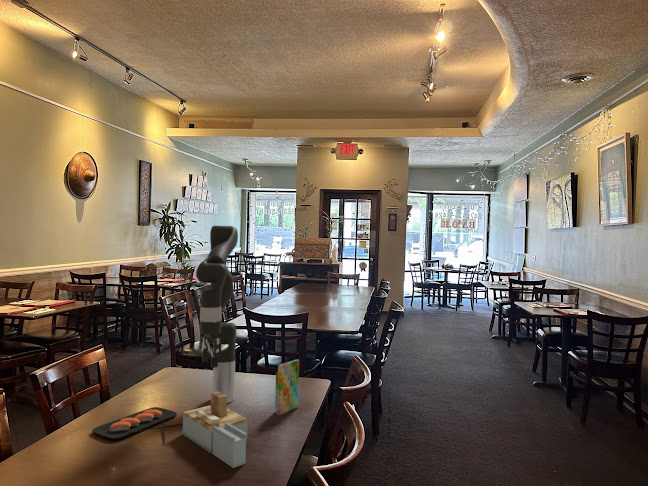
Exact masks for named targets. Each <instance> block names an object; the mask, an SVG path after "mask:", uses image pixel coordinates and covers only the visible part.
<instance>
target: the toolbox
mask: <svg viewBox="0 0 648 486" xmlns="http://www.w3.org/2000/svg"><path fill="white" fill-rule="evenodd" d="M182 423H183V425H182V435H183V436H184V437H186V438H188V439H189V440H190V441H192V442H193V443H195V444H196V445H197V446H199V447H201V448H202V449H204V450H205V451H206V452H208V453H209V454H212V455H214V456H215V457H217V458H218V459H219V460H220V461H222V462H224V463H225V464H227V465H228V466H230V467H231V468H232V469H234V468H238V467H240V466H243V465H246V459H247V458H246V454H247V453H246V452H247V451H246V449H247V443H248V432H249V431H248V428H249V423H248V420H247V422H244V423H240V424H237V425H233V426H232V425H231V424H229V423H225V426H223V427H219V428H218V427H216V426H213V432H211V431H209V430H208V429H206V428H205V427H203V426H201V425H200V424H198V423H196V422H195V421H193V420H192V419H190V418H188V417H187V416H185V415H184V414H182Z"/></svg>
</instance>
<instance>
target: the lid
mask: <svg viewBox="0 0 648 486" xmlns="http://www.w3.org/2000/svg"><path fill="white" fill-rule="evenodd" d="M199 409H204V410H205V411H207V412H209V413H211V414H213V415H214V416H216V417H218V418H220V425H217V426H216V427H218V428H219V427H223V426H225V423H229V424H231V425H232V426H233V425H237V424H240V423H244V422H247V421H248V419H247V417H245V416H243V415H241V414H239V413H237V412H235V411H234V410H231V409H229V408H228V403H227V395H225V394H223V393H221V392H219V391H218V392H214V393H212V392H211V393H210V405H207V406H203V407H199V408H194V409H191V410H186V411H184V412H183V415H185V416H187V417H188V418H190V419H192V420H193V421H195V422H196V423H198V424H200V425H201V426H203V427H205V428H206V429H208V430H209V431H211V432H213V426H212V425H210V424H208V423H207V422H205V421H203V420H202V419H200V418H198V417H197V416H196V410H199Z"/></svg>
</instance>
